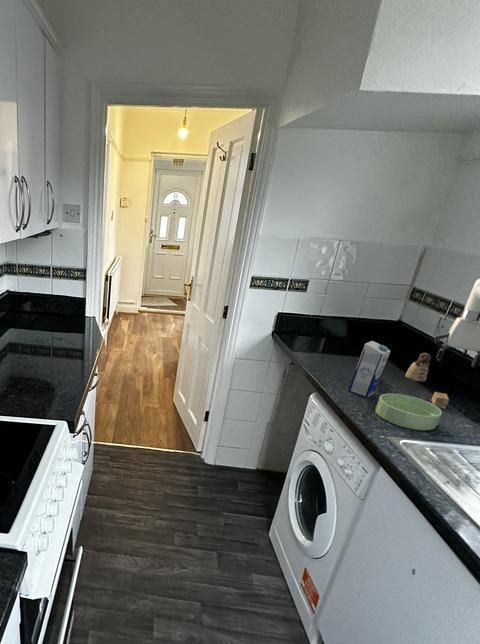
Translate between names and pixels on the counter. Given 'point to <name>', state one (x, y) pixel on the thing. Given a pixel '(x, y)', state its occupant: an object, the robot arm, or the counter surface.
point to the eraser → (440, 400)
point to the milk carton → (369, 369)
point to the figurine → (419, 368)
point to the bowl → (408, 411)
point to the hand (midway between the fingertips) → (455, 363)
